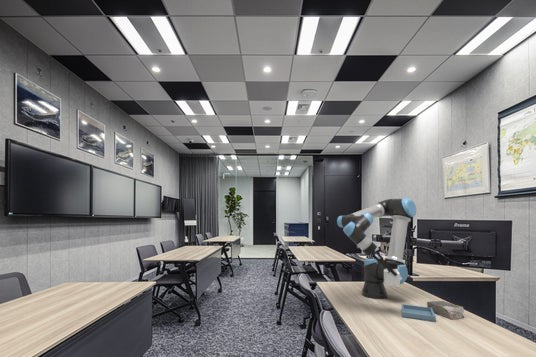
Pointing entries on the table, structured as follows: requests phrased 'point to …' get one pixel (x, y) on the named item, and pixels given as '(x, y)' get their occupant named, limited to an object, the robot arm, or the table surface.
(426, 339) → the table surface
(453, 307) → the geological specimen
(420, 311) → the tray
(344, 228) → the robot arm
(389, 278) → the medicine bottle
